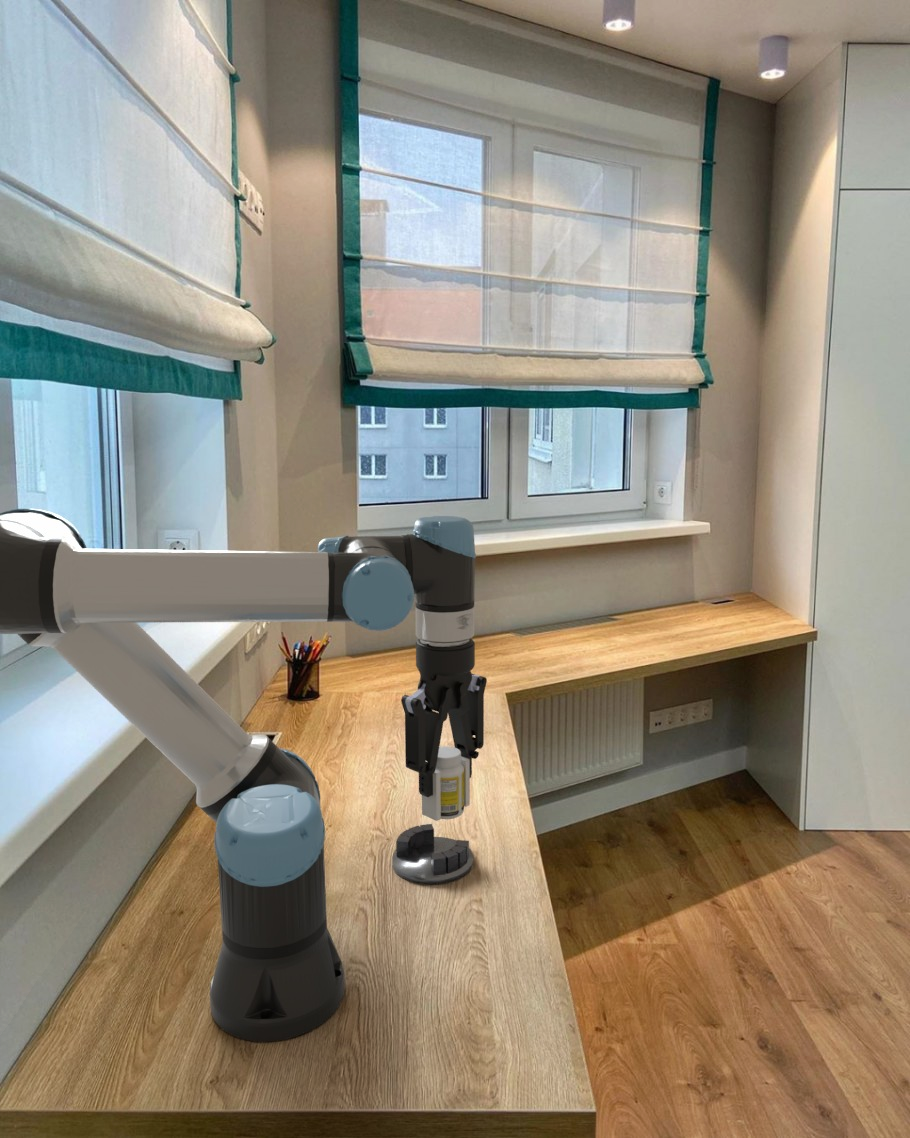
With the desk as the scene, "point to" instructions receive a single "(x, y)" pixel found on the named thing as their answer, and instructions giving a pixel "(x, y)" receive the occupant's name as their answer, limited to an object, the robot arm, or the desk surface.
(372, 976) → the desk surface
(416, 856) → the toothed grey disc
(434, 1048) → the desk surface
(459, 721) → the robot arm
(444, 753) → the supplement bottle
